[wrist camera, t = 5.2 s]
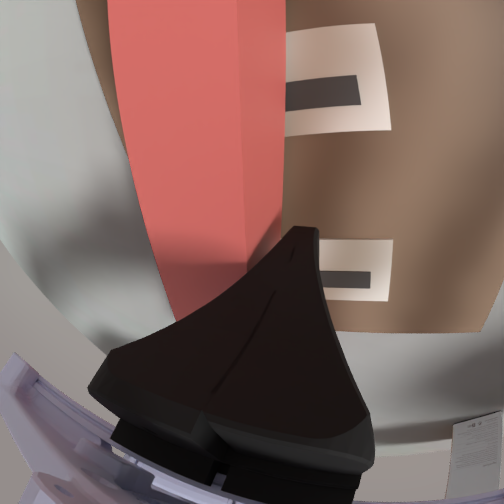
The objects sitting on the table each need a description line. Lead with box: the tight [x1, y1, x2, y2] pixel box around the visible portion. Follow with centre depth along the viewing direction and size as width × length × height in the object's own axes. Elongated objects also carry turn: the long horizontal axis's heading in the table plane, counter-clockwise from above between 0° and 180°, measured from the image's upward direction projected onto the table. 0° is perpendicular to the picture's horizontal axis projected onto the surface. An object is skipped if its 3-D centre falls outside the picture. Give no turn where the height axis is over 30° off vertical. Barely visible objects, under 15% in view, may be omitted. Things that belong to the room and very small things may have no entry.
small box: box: [445, 411, 502, 499], centre depth 17 cm, size 8×6×13 cm
